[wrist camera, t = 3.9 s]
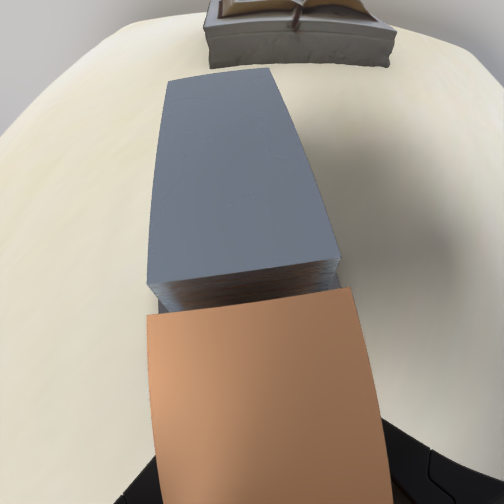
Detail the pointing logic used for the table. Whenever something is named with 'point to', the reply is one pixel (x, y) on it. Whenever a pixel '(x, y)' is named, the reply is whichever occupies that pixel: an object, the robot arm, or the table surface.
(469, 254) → the table surface
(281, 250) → the stand
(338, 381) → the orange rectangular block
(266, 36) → the bible
